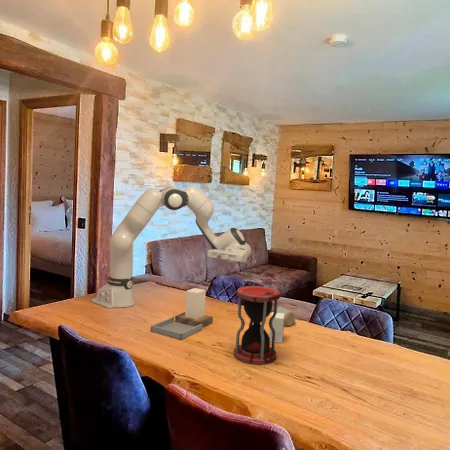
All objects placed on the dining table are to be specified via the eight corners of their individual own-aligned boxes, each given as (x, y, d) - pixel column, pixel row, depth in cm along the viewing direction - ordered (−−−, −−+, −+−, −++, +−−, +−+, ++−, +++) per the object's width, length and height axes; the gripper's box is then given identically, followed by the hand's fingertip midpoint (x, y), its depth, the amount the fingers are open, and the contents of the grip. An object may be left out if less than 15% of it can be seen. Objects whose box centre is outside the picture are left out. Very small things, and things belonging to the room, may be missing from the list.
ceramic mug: (285, 328, 191) (287, 311, 190) (271, 323, 196) (272, 307, 196) (299, 324, 198) (300, 308, 197) (285, 319, 204) (286, 304, 203)
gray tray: (150, 331, 177) (150, 325, 177) (172, 322, 191) (172, 316, 190) (181, 340, 169) (181, 334, 169) (202, 329, 183) (202, 324, 183)
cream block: (185, 316, 190) (186, 290, 189) (193, 313, 196) (194, 287, 195) (196, 319, 187) (197, 293, 186) (204, 315, 193) (205, 290, 192)
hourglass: (241, 366, 148) (245, 297, 145) (228, 348, 163) (232, 285, 161) (283, 363, 152) (287, 296, 150) (267, 346, 168) (271, 285, 165)
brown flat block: (175, 322, 190) (175, 316, 190) (187, 317, 199) (187, 310, 199) (200, 328, 184) (201, 322, 183) (212, 323, 192) (212, 316, 192)
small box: (282, 343, 172) (283, 318, 171) (268, 341, 173) (270, 317, 172) (283, 336, 179) (285, 313, 178) (270, 335, 180) (272, 311, 179)
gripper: (215, 245, 223) (201, 248, 211) (250, 250, 213) (237, 253, 201) (215, 257, 224) (201, 260, 212) (249, 262, 214) (236, 266, 202)
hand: (219, 257), depth 206 cm, fingers closed
